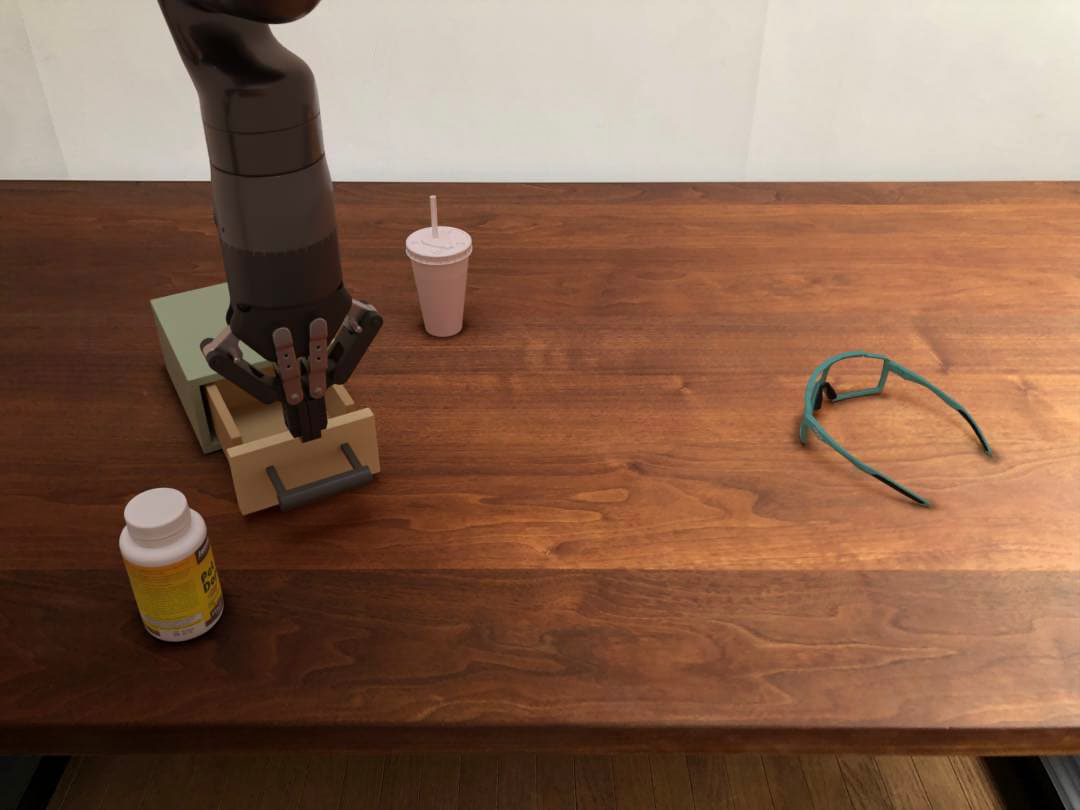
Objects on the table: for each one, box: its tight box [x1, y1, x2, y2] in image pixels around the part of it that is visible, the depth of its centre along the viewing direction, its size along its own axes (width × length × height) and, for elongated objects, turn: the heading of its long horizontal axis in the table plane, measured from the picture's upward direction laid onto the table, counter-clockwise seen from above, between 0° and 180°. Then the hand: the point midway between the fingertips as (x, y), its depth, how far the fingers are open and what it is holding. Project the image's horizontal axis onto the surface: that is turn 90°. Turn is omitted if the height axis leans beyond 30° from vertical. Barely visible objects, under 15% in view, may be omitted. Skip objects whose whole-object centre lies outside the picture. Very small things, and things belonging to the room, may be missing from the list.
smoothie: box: [405, 194, 473, 338], centre depth 102 cm, size 6×6×14 cm
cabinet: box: [149, 281, 336, 455], centre depth 95 cm, size 15×13×8 cm
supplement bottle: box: [118, 487, 225, 642], centre depth 72 cm, size 6×6×10 cm
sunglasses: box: [799, 350, 994, 507], centre depth 90 cm, size 14×15×5 cm
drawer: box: [201, 359, 381, 516], centre depth 85 cm, size 18×11×6 cm, turn 28°
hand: (308, 434), depth 78 cm, fingers closed
